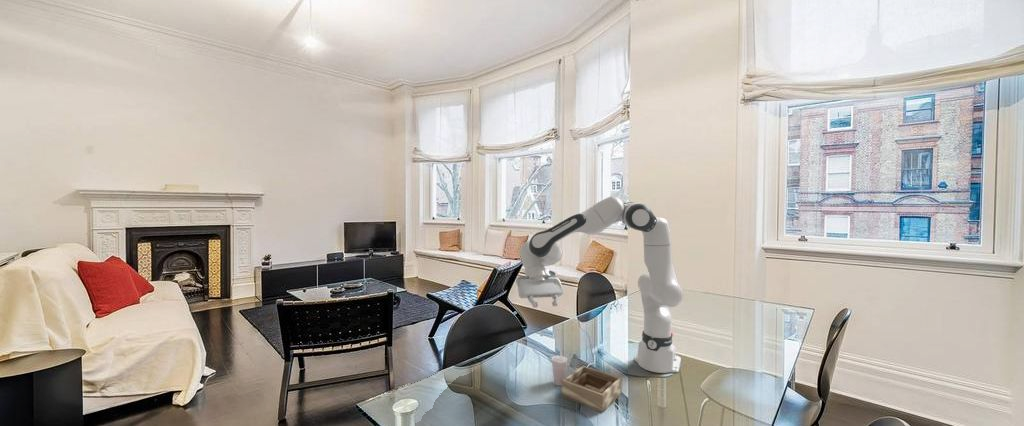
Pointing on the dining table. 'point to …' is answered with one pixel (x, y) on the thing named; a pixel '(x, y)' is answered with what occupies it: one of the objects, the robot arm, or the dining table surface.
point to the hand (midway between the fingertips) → (545, 306)
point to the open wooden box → (592, 388)
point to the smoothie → (559, 368)
